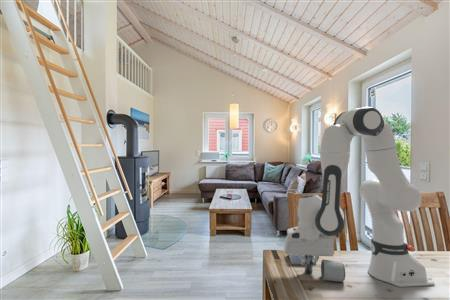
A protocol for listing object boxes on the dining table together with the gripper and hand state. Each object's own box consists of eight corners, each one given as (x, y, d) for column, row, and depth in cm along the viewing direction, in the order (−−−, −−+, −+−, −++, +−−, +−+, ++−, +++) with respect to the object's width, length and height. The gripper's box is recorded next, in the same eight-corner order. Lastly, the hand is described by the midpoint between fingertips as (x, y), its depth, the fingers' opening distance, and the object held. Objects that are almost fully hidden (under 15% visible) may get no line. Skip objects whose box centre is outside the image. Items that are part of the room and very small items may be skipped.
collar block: (309, 255, 128) (309, 247, 128) (313, 264, 118) (313, 255, 118) (288, 254, 129) (288, 246, 129) (291, 263, 119) (291, 255, 119)
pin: (311, 271, 112) (311, 252, 112) (313, 274, 109) (313, 255, 109) (304, 270, 112) (304, 252, 112) (305, 274, 109) (305, 254, 109)
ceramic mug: (346, 285, 100) (346, 265, 100) (324, 283, 101) (324, 263, 102) (339, 273, 111) (339, 254, 111) (318, 271, 112) (318, 253, 112)
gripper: (331, 231, 113) (331, 263, 113) (283, 229, 115) (283, 260, 115) (336, 235, 106) (336, 269, 106) (285, 234, 108) (285, 267, 109)
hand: (308, 265), depth 111 cm, fingers closed on pin, 3 cm apart
